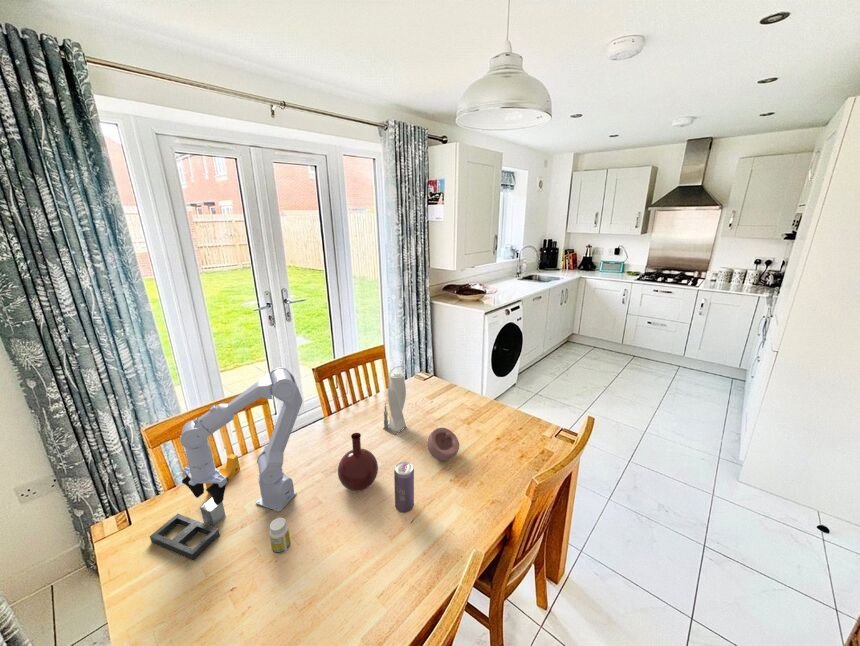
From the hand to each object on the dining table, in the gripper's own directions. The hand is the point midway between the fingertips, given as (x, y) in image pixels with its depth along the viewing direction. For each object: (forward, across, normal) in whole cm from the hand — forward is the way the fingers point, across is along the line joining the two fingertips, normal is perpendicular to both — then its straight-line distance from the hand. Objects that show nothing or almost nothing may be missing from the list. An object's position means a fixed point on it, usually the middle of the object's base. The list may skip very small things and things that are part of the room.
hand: (209, 498), depth 101 cm
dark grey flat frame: (+8, -2, -7) cm, 11 cm away
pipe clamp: (+8, -11, +13) cm, 19 cm away
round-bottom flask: (+8, +34, +27) cm, 44 cm away
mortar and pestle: (+8, +57, +50) cm, 76 cm away
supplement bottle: (+8, +25, 0) cm, 26 cm away
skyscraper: (+8, +33, +61) cm, 69 cm away
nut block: (+8, 0, 0) cm, 8 cm away
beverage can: (+8, +52, +24) cm, 58 cm away
